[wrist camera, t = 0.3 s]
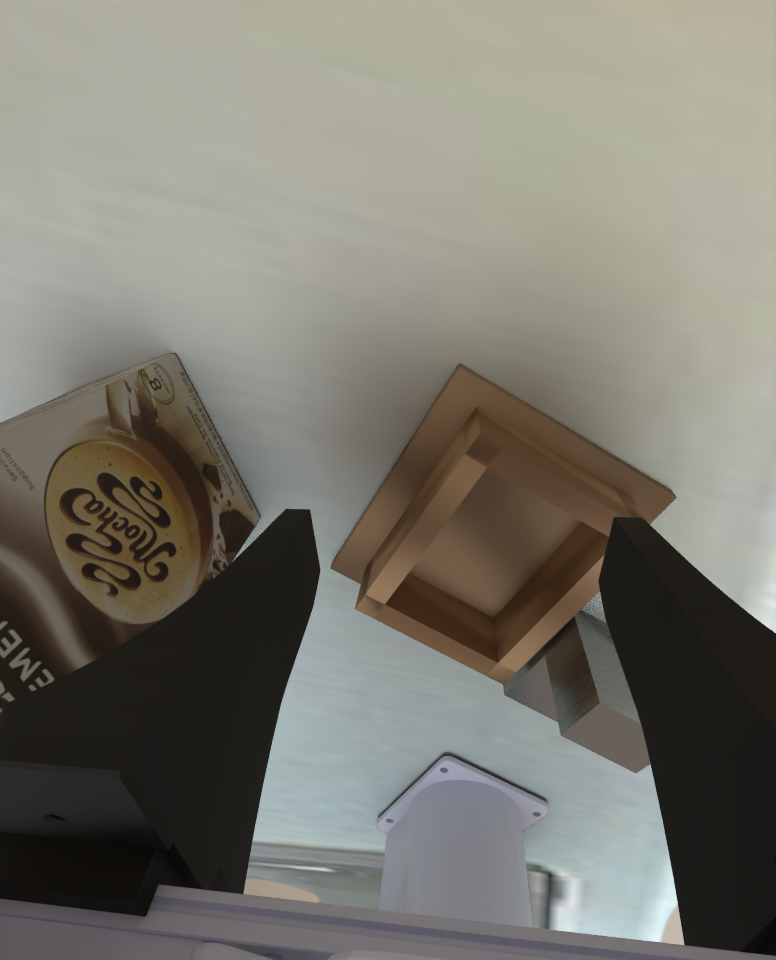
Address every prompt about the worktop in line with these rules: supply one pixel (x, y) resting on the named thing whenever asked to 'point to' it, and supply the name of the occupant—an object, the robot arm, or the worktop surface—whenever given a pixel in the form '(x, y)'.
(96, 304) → the worktop surface
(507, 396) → the tray
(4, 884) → the robot arm
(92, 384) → the coffee box
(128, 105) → the worktop surface
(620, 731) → the brushed steel block
